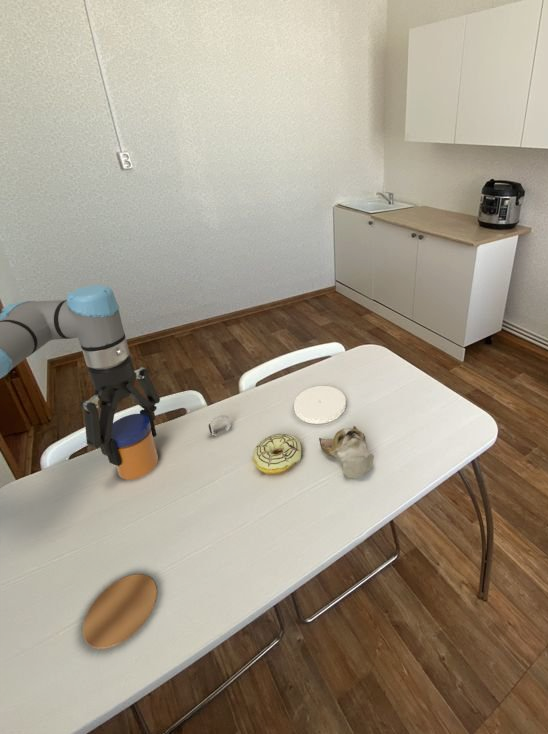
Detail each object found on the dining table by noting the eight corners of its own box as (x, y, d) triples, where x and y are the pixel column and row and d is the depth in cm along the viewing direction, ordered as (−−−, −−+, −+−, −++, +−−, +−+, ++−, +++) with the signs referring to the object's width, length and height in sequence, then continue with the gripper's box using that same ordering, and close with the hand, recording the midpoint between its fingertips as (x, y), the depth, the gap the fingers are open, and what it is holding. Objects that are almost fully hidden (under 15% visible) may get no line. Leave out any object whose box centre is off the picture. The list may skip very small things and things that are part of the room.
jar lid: (154, 435, 83) (153, 428, 82) (110, 454, 78) (108, 446, 78) (147, 415, 89) (145, 408, 89) (105, 431, 85) (103, 424, 84)
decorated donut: (310, 463, 87) (309, 450, 86) (265, 487, 82) (264, 473, 80) (289, 436, 95) (288, 424, 94) (248, 456, 89) (246, 443, 88)
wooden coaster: (67, 638, 57) (66, 635, 57) (123, 570, 66) (122, 567, 66) (121, 661, 55) (119, 657, 54) (171, 586, 64) (170, 583, 63)
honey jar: (110, 477, 85) (98, 439, 81) (138, 450, 92) (129, 414, 88) (139, 485, 83) (128, 446, 79) (166, 457, 90) (157, 420, 86)
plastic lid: (289, 400, 108) (288, 393, 108) (336, 388, 113) (335, 381, 113) (302, 433, 96) (301, 425, 95) (353, 417, 101) (353, 410, 100)
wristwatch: (209, 434, 96) (206, 418, 95) (229, 426, 99) (226, 410, 97) (213, 441, 94) (210, 425, 92) (233, 432, 97) (230, 416, 95)
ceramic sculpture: (339, 460, 77) (314, 418, 90) (341, 495, 79) (317, 449, 92) (385, 443, 81) (355, 405, 94) (386, 476, 83) (357, 435, 96)
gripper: (68, 395, 67) (100, 491, 75) (165, 339, 85) (183, 421, 93) (40, 386, 70) (75, 480, 77) (140, 333, 88) (160, 414, 96)
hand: (134, 448), depth 85 cm, fingers closed on jar lid, 8 cm apart
